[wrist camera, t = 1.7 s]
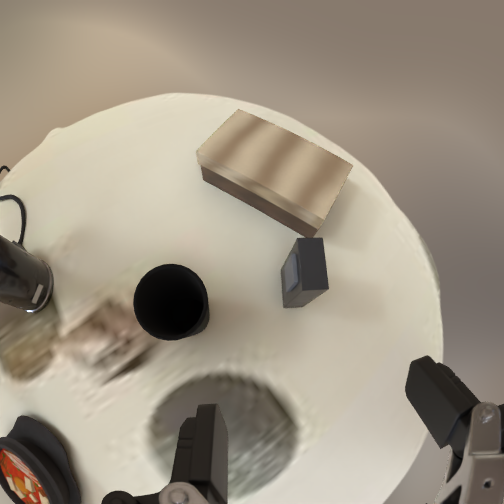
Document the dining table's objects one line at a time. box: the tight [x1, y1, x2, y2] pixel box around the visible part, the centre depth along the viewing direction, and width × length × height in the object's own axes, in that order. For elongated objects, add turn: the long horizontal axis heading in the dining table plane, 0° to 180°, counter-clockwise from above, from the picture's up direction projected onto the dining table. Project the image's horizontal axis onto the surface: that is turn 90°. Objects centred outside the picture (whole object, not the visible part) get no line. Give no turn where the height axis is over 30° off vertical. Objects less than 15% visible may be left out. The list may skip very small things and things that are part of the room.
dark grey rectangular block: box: [281, 238, 329, 308], centre depth 34 cm, size 3×6×12 cm, turn 2°
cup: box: [133, 264, 209, 341], centre depth 32 cm, size 8×8×12 cm
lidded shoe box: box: [196, 109, 353, 238], centre depth 41 cm, size 20×11×8 cm, turn 58°
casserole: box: [0, 415, 81, 504], centre depth 21 cm, size 25×19×8 cm
